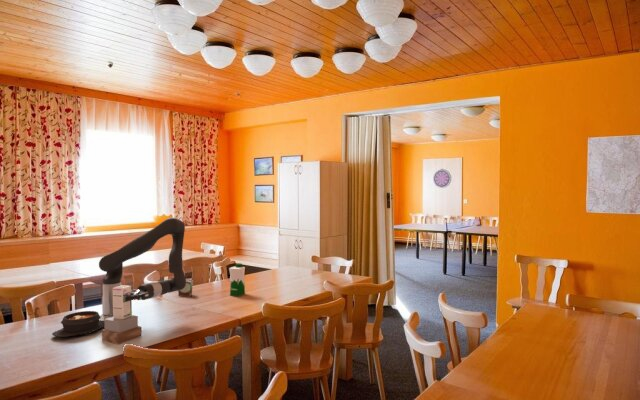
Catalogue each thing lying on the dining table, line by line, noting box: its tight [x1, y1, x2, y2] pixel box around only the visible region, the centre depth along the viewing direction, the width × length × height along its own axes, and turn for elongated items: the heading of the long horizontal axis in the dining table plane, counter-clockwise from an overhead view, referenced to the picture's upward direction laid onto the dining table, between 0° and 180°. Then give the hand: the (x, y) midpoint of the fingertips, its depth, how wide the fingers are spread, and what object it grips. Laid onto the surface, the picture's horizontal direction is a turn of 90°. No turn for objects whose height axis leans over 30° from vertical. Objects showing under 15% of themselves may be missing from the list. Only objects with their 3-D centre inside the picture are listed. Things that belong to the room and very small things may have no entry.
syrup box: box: [112, 284, 133, 319], centre depth 196 cm, size 6×6×14 cm
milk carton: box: [228, 262, 246, 297], centre depth 276 cm, size 9×9×20 cm
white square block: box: [103, 314, 139, 333], centre depth 196 cm, size 10×10×5 cm
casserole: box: [51, 310, 105, 338], centre depth 205 cm, size 25×19×8 cm
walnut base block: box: [101, 325, 143, 345], centre depth 196 cm, size 12×12×5 cm
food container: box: [177, 278, 195, 298], centre depth 277 cm, size 12×6×10 cm, turn 65°
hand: (120, 297), depth 194 cm, fingers open, 8 cm apart
